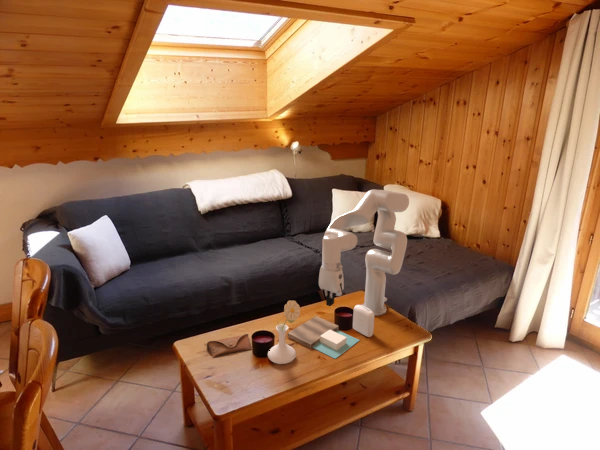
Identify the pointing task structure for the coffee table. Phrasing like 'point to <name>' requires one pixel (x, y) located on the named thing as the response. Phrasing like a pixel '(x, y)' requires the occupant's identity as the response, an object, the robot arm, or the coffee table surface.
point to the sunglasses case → (229, 345)
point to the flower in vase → (282, 350)
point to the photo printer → (363, 320)
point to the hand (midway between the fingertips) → (330, 304)
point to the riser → (311, 331)
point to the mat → (337, 353)
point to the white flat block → (333, 339)
